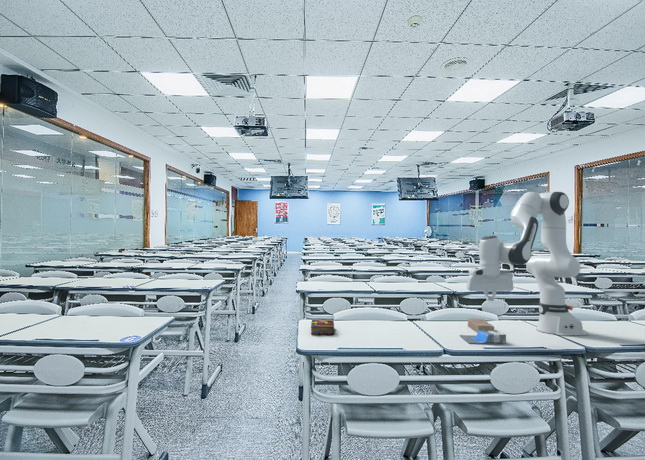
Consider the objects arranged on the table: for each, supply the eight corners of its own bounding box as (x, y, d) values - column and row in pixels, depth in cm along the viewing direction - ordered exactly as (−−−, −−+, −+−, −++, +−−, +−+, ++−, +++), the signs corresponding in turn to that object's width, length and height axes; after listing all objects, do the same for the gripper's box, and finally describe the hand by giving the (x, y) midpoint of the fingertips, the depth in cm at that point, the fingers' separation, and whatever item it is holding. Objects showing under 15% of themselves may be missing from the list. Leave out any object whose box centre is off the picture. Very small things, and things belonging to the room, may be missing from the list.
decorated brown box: (333, 328, 194) (333, 318, 194) (334, 336, 178) (334, 325, 178) (311, 327, 194) (311, 318, 194) (310, 336, 178) (310, 325, 178)
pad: (491, 336, 178) (491, 335, 178) (503, 344, 165) (503, 343, 165) (459, 336, 179) (459, 335, 179) (468, 343, 166) (468, 342, 166)
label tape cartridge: (506, 334, 166) (480, 334, 165) (506, 342, 166) (480, 343, 165) (495, 329, 175) (470, 329, 174) (495, 337, 175) (470, 338, 174)
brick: (495, 334, 183) (495, 325, 184) (477, 334, 184) (477, 324, 184) (482, 327, 200) (482, 318, 200) (467, 326, 201) (467, 317, 201)
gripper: (509, 269, 175) (509, 299, 175) (465, 270, 176) (465, 299, 176) (515, 271, 168) (516, 301, 168) (470, 271, 169) (470, 301, 169)
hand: (490, 300), depth 172 cm, fingers closed
